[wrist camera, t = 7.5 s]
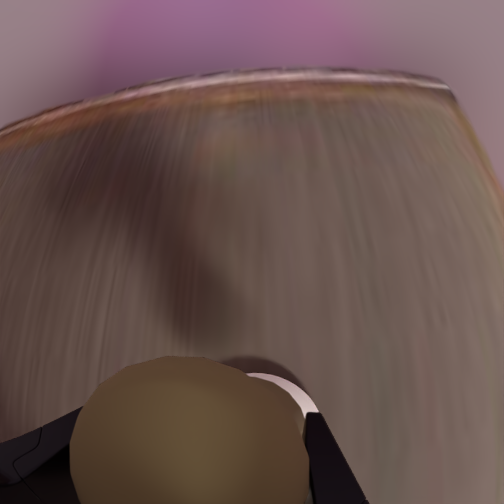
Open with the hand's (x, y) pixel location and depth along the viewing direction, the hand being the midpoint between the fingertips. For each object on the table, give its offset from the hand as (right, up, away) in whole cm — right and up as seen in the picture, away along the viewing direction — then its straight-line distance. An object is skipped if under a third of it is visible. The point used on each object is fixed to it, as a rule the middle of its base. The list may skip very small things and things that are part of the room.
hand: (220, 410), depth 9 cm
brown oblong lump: (+1, -4, +5) cm, 7 cm away
